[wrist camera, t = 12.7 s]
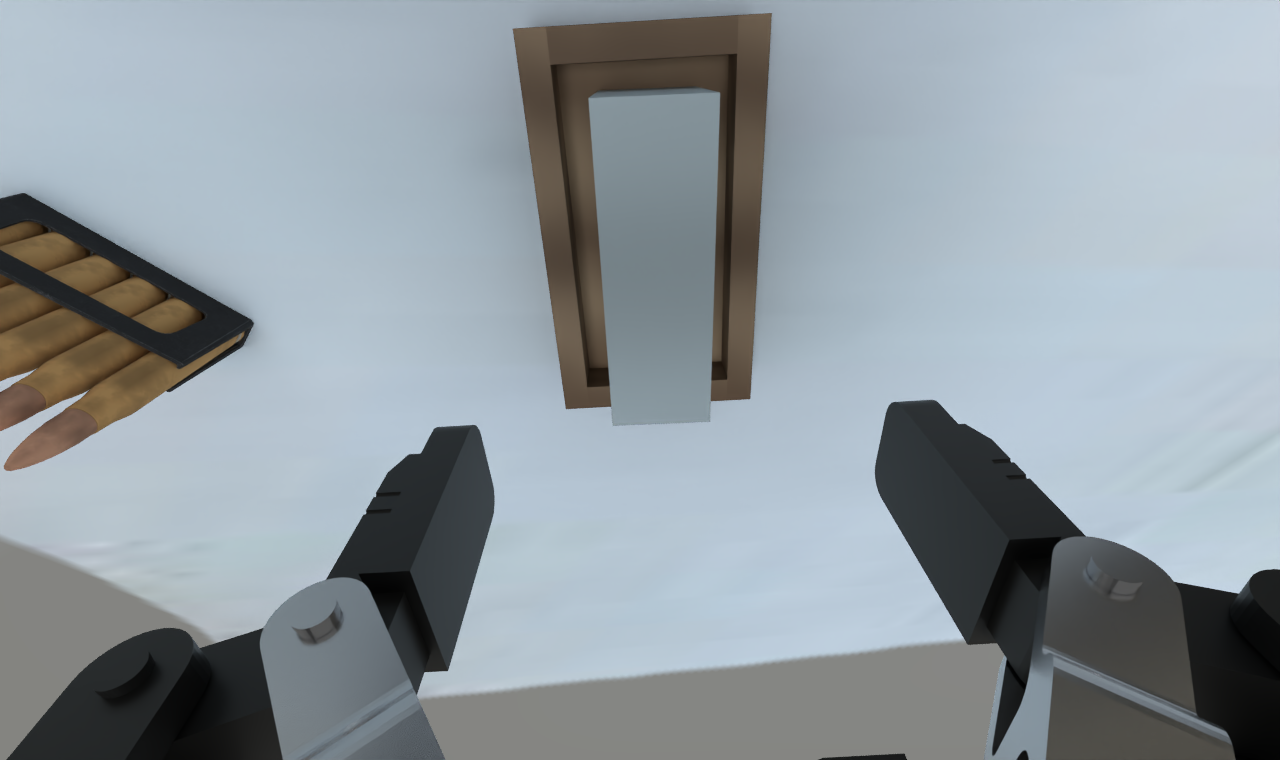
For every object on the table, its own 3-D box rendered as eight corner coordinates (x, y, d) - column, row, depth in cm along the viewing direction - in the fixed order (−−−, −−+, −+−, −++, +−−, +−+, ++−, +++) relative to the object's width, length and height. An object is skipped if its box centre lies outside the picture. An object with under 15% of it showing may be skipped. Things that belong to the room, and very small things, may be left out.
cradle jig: (526, 33, 23) (512, 28, 20) (754, 20, 23) (771, 13, 20) (571, 378, 31) (566, 409, 28) (739, 369, 31) (750, 399, 28)
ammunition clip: (255, 321, 29) (44, 465, 18) (243, 347, 30) (32, 499, 19) (22, 191, 25) (-399, 277, 15) (14, 223, 26) (-393, 326, 16)
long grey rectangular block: (598, 90, 23) (588, 98, 17) (695, 86, 23) (720, 92, 17) (615, 350, 29) (612, 425, 23) (692, 346, 29) (710, 421, 23)
